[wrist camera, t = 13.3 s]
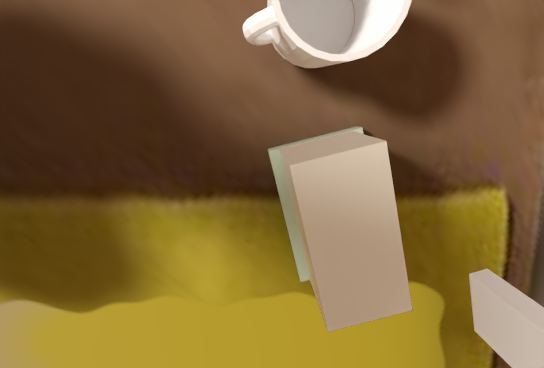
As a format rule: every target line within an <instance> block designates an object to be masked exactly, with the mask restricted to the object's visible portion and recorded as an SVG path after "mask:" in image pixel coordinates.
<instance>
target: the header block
mask: <svg viewBox="0 0 544 368" xmlns="http://www.w3.org/2000/svg"><path fill="white" fill-rule="evenodd" d="M349 131H354V132H358V133H361V134H363V128H362V127H359V126H356V127H352V128H348V129H344V130H340V131H336V132H332V133H328V134H324V135H320V136H316V137H312V138H308V139H304V140H300V141H297V142H293V143H289V144H285V145H281V146H277V147H273V148H269V149H268V153H269V157H270V161H271V165H272V169H273V173H274V177H275V181H276V185H277V190H278V194H279V198H280V202H281V206H282V210H283V214H284V218H285V222H286V226H287V230H288V234H289V238H290V242H291V246H292V250H293V254H294V259H295V263H296V267H297V271H298V275H299V278H300V282H303V281H307V280H310V278H309V274H308V270H307V266H306V262H305V257H304V253H303V249H302V245H301V241H300V236H299V232H298V228H297V224H296V220H295V215H294V211H293V207H292V203H291V199H290V194H289V190H288V186H287V182H286V178H285V174H284V169H283V165H282V161H281V157H280V153H279V149H282V148H286V147H290V146H294V145H298V144H301V143H305V142H309V141H313V140H317V139H321V138H325V137H329V136H333V135H337V134H341V133H345V132H349Z"/></svg>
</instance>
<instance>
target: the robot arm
mask: <svg viewBox="0 0 544 368" xmlns="http://www.w3.org/2000/svg"><path fill="white" fill-rule="evenodd" d="M469 279H470V290H471V300H472V310H473V321H474V331H475V332H476V333H477V334H478V335H479V336H480V337H481V338H482V339H483V340H484V341H485V342H486V343H487V344H488V345H489V346H490V347H491V348H492V349H493V350H494V351H495V352H496V353H497V354H498V355H499V356H501V357H502V358H503V359H504V360H505V361H506V362H507V363H508V364H509V365H510V366H511V367H512V368H544V307H542V306H541V305H539V304H538V303H536V302H535V301H534V300H532V299H531V298H529V297H528V296H526V295H525V294H523V293H522V292H521V291H519V290H518V289H516V288H515V287H513V286H512V285H510V284H509V283H508V282H506V281H505V280H503V279H502V278H500V277H499V276H497V275H496V274H494V273H493V272H492V271H490V270H489V269H484V270H480V271H477V272H473V273H470V274H469Z"/></svg>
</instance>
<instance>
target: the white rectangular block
mask: <svg viewBox="0 0 544 368" xmlns="http://www.w3.org/2000/svg"><path fill="white" fill-rule="evenodd" d="M279 153H280V157H281V161H282V165H283V169H284V174H285V178H286V182H287V186H288V190H289V194H290V199H291V203H292V207H293V211H294V215H295V220H296V224H297V228H298V232H299V236H300V241H301V245H302V249H303V253H304V257H305V262H306V266H307V270H308V274H309V278H310V282H311V285H312V288H313V290H314V293H315V296H316V299H317V302H318V305H319V307H320V310H321V313H322V315H323V319H324V321H325V325H326V327H327V330H328V332H331V331H335V330H339V329H343V328H347V327H350V326H354V325H358V324H362V323H365V322H370V321H374V320H377V319H381V318H385V317H389V316H393V315H396V314H400V313H404V312H408V311H412V304H411V297H410V292H409V285H408V278H407V271H406V265H405V258H404V252H403V245H402V239H401V232H400V226H399V220H398V213H397V207H396V200H395V194H394V187H393V181H392V174H391V168H390V161H389V155H388V148H387V142H386V141H385V140H381V139H378V138H374V137H371V136H368V135H364V134H361V133H358V132H354V131H349V132H345V133H341V134H337V135H333V136H329V137H325V138H321V139H317V140H313V141H309V142H305V143H301V144H298V145H294V146H290V147H286V148H282V149H279Z"/></svg>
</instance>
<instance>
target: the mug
mask: <svg viewBox="0 0 544 368" xmlns="http://www.w3.org/2000/svg"><path fill="white" fill-rule="evenodd" d="M411 1H412V0H268V5H267V8H266V9H264V10H262V11H260V12H258V13H256V14H254V15H253V16H251V17H250V18H248V19H247V20H246V21H245V23H244V25H243V32H244V36H245V38H246V39H247V41H248V42H250V43H252V44H254V45H266V44H269V43H272V44H273V46H274V47H275V49H276V51H277V52H278V53H279V54H280V55H281V56H282V57H283V58H284V59H285V60H287V61H288V62H290V63H292V64H293V65H296V66H299V67H303V68H319V67H324V66H329V65H334V64H339V63H344V62H349V61H352V60H356V59H359V58H363V57H366V56H368V55H369V54H371V53H373V52H374V51H376V50H378V49H380V48H381V47H383V46H384V45H385V44H386V43H387V42H388V41H389V40H390V39H391V38H392V37H393V36H394V35H395V34H396V32H397V31H398V29H399V28H400V26H401V24H402V23H403V21H404V19H405V18H406V16H407V13H408V10H409V7H410V4H411Z"/></svg>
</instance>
